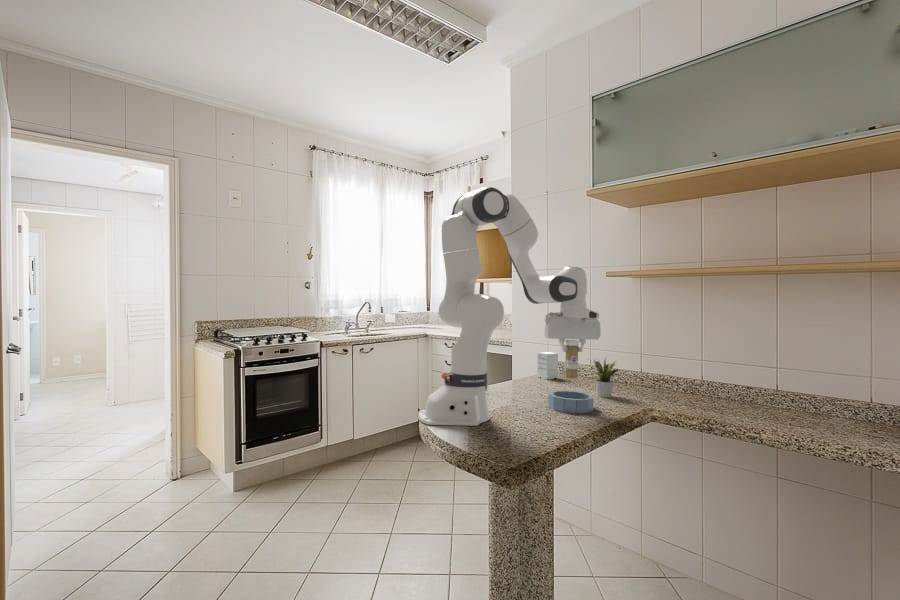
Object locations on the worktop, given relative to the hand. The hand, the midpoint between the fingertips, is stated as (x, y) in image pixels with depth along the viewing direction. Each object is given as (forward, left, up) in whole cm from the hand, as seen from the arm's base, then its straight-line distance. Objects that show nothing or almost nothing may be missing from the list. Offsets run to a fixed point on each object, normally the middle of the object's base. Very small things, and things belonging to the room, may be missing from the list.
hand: (571, 351), depth 149 cm
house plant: (+22, +16, -20) cm, 34 cm away
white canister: (+18, +57, -20) cm, 63 cm away
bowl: (0, 0, -20) cm, 20 cm away
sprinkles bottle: (0, 0, -9) cm, 9 cm away
